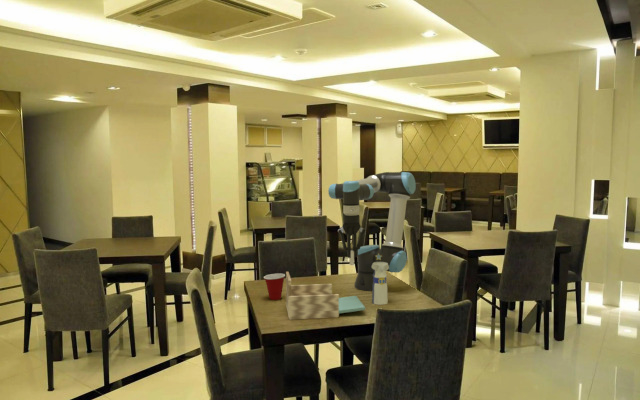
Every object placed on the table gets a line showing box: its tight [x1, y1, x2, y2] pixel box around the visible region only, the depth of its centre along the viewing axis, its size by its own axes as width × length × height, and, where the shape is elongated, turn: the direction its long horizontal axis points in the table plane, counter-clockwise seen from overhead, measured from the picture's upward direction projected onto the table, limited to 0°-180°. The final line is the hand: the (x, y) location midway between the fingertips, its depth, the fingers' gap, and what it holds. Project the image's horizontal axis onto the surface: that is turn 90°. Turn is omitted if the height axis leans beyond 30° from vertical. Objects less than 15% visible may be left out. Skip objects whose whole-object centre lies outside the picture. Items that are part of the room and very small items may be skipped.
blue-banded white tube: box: [371, 253, 389, 306], centre depth 229 cm, size 8×9×25 cm
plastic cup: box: [263, 273, 286, 301], centre depth 237 cm, size 11×11×12 cm
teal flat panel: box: [339, 295, 366, 314], centre depth 218 cm, size 2×19×12 cm
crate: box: [285, 271, 340, 321], centre depth 215 cm, size 22×20×17 cm
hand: (351, 264), depth 219 cm, fingers closed
